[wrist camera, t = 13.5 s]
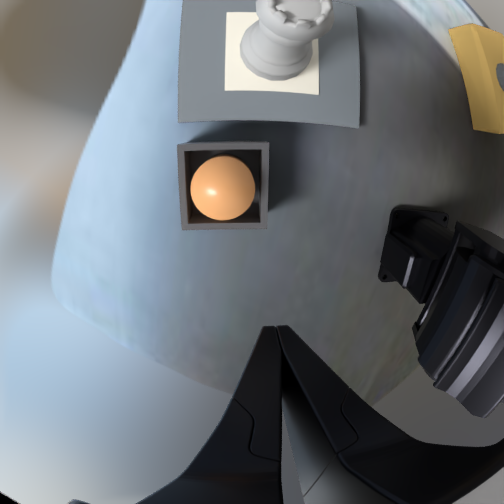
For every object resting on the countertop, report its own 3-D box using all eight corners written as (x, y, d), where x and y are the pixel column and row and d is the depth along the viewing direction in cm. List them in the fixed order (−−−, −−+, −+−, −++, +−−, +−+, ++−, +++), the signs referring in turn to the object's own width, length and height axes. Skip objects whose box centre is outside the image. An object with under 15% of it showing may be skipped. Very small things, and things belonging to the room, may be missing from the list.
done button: (253, 153, 17) (255, 157, 14) (252, 208, 18) (254, 220, 16) (195, 155, 16) (189, 158, 14) (197, 209, 18) (192, 220, 16)
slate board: (351, 9, 13) (356, 5, 12) (354, 128, 17) (359, 128, 16) (185, -1, 12) (183, -6, 11) (180, 122, 16) (177, 122, 16)
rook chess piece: (312, 31, 13) (358, -20, 6) (304, 88, 15) (351, 61, 8) (244, 19, 13) (250, -45, 6) (234, 76, 15) (231, 36, 7)
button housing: (264, 141, 17) (269, 142, 15) (262, 214, 20) (267, 229, 17) (186, 142, 17) (177, 144, 14) (189, 215, 19) (182, 230, 17)
